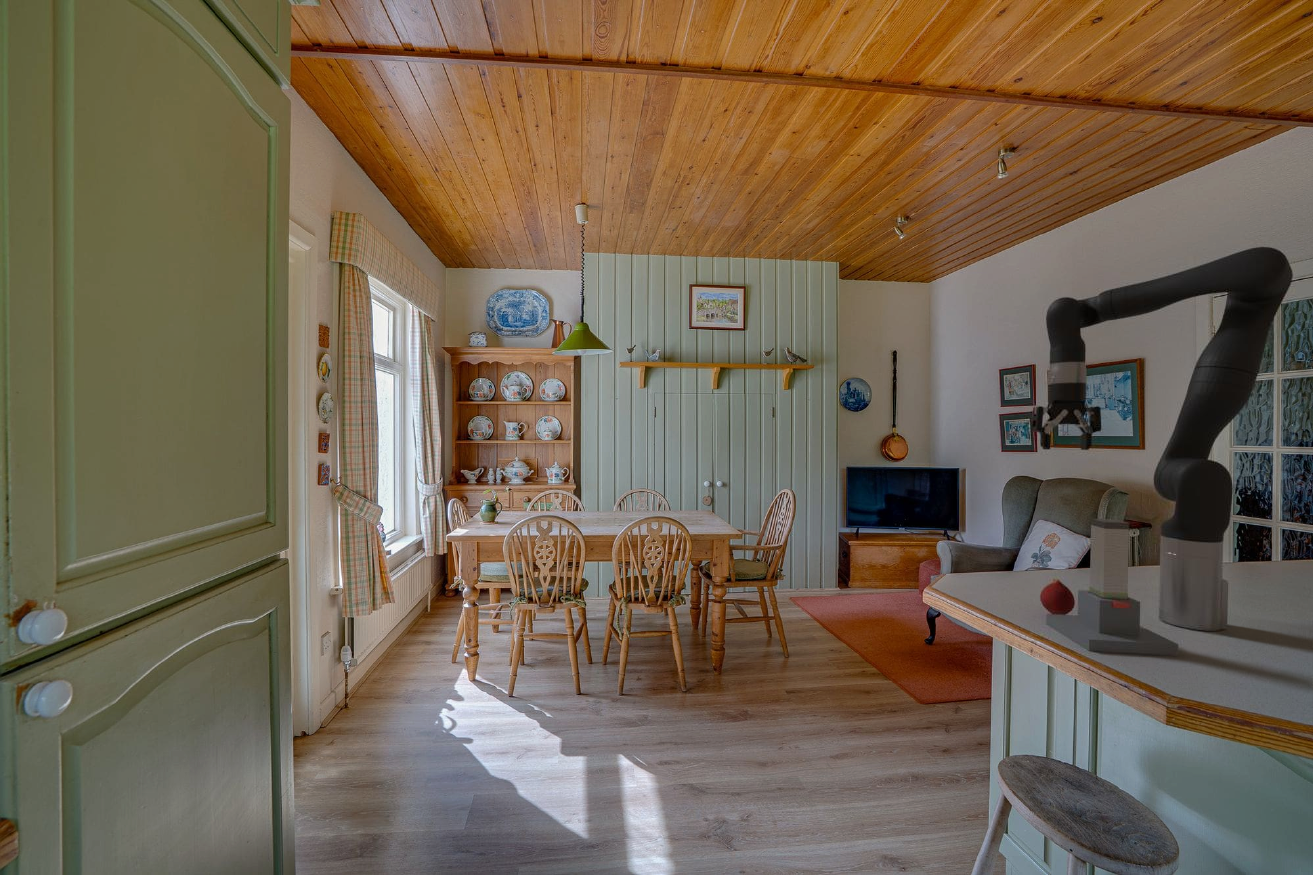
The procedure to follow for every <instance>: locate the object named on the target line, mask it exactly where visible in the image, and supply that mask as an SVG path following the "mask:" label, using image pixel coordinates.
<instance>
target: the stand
mask: <svg viewBox="0 0 1313 875" xmlns="http://www.w3.org/2000/svg"><path fill="white" fill-rule="evenodd" d="M1077 593H1078V594H1077V615H1073V614H1066V615H1057V614H1051V613H1046V615H1045V619H1046V620H1045V622H1046V623H1045V624H1046V625H1047V626H1049V627H1050V628H1052V629H1054V630H1055V631H1057V632H1059V633H1060V634H1062V635H1063V636H1064V637H1066V638H1068V639H1069V640H1071V641H1072V642H1075V643H1076V644H1078V645H1079V646H1080V647H1082V648H1084V649H1085V650H1086V651H1088V652H1103V653H1105V652H1106V653H1124V654H1135V655H1136V654H1138V655H1141V654H1142V655H1153V656H1155V655H1157V656H1173V657H1174V656H1175V657H1179V644H1178V643H1177V642H1174V641H1172V640H1170V639H1169V638H1166V637H1164V636H1162V635H1160V634H1158V633H1156V632H1153V631H1151V630H1150V629H1147V627H1143V626H1141V601H1139V600H1136V599H1134V598H1132V597H1130V596H1128V598H1127V600H1117V599H1102V598H1100V597H1097V596H1095V595H1093V594H1091V593H1090V591H1089V589H1088V590H1086V589H1085V590H1084V589H1078V590H1077Z"/></svg>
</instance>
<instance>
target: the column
mask: <svg viewBox="0 0 1313 875" xmlns="http://www.w3.org/2000/svg"><path fill="white" fill-rule="evenodd" d="M1090 519H1091V520H1090V521H1091V522H1090V531H1091V532H1090V565H1089V567H1090V569H1089V574H1090V575H1089V589H1088V591H1090V593H1091V594H1093V595H1095V596H1097V597H1100V598H1102V599H1117V600H1127V598H1128V597H1129V592H1128V590H1129V589H1128V587H1129V584H1128V583H1129V582H1128V581H1129V548H1130V547H1129V545H1130V544H1129V542H1130V522H1128V521H1127V522H1126V521H1123V520H1118V519H1112V518H1111V519H1110V518H1109V519H1108V518H1090Z"/></svg>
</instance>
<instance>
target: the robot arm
mask: <svg viewBox="0 0 1313 875" xmlns="http://www.w3.org/2000/svg"><path fill="white" fill-rule="evenodd" d="M1293 276H1294V275H1293V269H1292V267H1291V264H1290V262H1289V259H1288V258H1287V255H1285V253H1283V252H1282V251H1281V250H1279V249H1276V248H1275V247H1272V246H1271V247H1270V246H1258V247H1251V248H1247V249H1245V250H1241V251H1238V252H1236V253H1232V254H1230V255H1227V256H1224V257H1220V258H1217V259H1215V260H1212V261H1209V262H1207V263H1203V264H1200V265H1197V266H1195V267H1191V268H1189V269H1185V270H1182V271H1179V272H1176V273H1173V274H1169V275H1165V276H1162V277H1158V278H1154V279H1150V280H1147V281H1142V282H1138V283H1134V284H1128V285H1124V286H1120V287H1115V288H1110V289H1107V290H1105V291H1102V292H1100V293H1099V294H1098V295H1095V296H1091V297H1087V298H1084V299H1076V298H1074V297H1067V296H1066V297H1065V296H1063V297H1060V298H1057V299H1055V300H1054V301H1053V302H1051V304H1050V305H1048V306H1049V307H1048V308H1047V310H1046V317H1045V323H1046V324H1045V325H1046V330H1047V337H1048V340H1049V346H1050V347H1049V367H1048V373H1047V402H1048V403H1047V406H1040V405H1038V406H1033V408H1032V418H1031V431H1032V432H1037V433H1038V434H1040V438H1039V439H1040V443H1039V444H1040V447H1041V448H1042V449H1043V450H1046V451H1047V450H1051V444H1052V443H1051V441H1052V440H1051V438H1052V436H1051V431H1052V430H1053V429H1054V428H1056V427H1057V426H1058V425H1073V426H1075V427H1076V428H1077V429H1078V430H1079V431H1080V432H1081V434H1080V450H1082V451H1083V450H1084V451H1089V450H1090V448H1091V447H1092V445H1093V444H1092V443H1093V442H1092V437H1093V434H1094V433H1098V432H1101V431H1102V414H1101V413H1102V411H1101V407H1100V406H1099V405H1098V406H1097V405H1096V406H1090V407H1087V406H1086V401H1087V379H1088V378H1087V366H1086V355H1087V353H1086V351H1087V350H1086V347H1087V346H1086V342H1085V340H1084V339H1083V337H1082V334H1081V332H1082V331H1081V329H1085V328H1087V327H1088V328H1089V327H1092V326H1095V325H1099V324H1102V323H1105V322H1109V321H1115V320H1121V319H1122V320H1123V319H1126V318H1127V319H1128V318H1131V317H1137V316H1142V315H1147V314H1149V313H1153V312H1155V311H1158V310H1161V309H1163V308H1166V307H1168V306H1171V305H1173V304H1176V303H1178V302H1182V301H1185V300H1188V299H1191V298H1196V297H1201V296H1204V295H1206V296H1207V295H1213V294H1223V293H1227V294H1226V301H1225V307H1224V311H1223V315H1222V319H1221V321H1220V324H1219V326H1218V328H1217V330H1216V332H1215V334H1214V335H1213V337H1212V338H1211V339H1210V341H1209V342H1208V343H1207V345H1206V346H1205V347H1204V349H1203V350H1202V352H1201V354H1200V355H1199V357H1198V359H1197V360H1196V364H1195V366H1194V368H1193V372H1192V374H1191V378H1190V379H1189V383H1188V387H1187V390H1186V391H1187V392H1186V394H1185V398H1184V400H1183V403H1182V406H1181V409H1180V411H1179V414H1178V418H1177V420H1176V424H1175V427H1174V429H1173V431H1172V434H1171V436H1170V438H1169V441H1168V443H1167V445H1166V447H1165V448H1164V451H1163V453H1162V454H1161V457H1160V459H1159V461H1158V463H1157V465H1156V467H1155V470H1154V474H1153V485H1154V488H1155V490H1156V492H1157V494H1158V495H1160V496H1161V497H1162V498H1163V499H1165V500H1168V501H1172V502H1175V503H1174V504H1175V506H1174V513H1173V515H1172V516H1171V517H1170V518H1168V519H1166V520H1164V521H1162V522H1161V524H1160V544H1159V545H1160V547H1159V548H1160V552H1159V553H1160V555H1159V556H1160V557H1159V591H1158V592H1159V596H1158V597H1159V598H1158V619H1159V620H1160V621H1162V622H1164V623H1166V624H1170V625H1173V626H1176V627H1180V628H1185V629H1191V630H1197V631H1206V632H1207V631H1208V632H1209V631H1210V632H1212V631H1213V632H1214V631H1221V630H1228V612H1229V611H1228V605H1229V582H1228V581H1227V579H1224V578H1223V575H1224V574H1223V573H1224V570H1223V569H1224V566H1223V565H1224V538H1225V537H1224V535H1225V533H1226V531H1227V529H1228V528H1229V525H1230V522H1231V515H1232V514H1231V512H1232V504H1233V503H1232V502H1233V480H1232V476H1231V474H1230V472H1229V470H1228V468H1227V467H1226V466H1225V465H1223V464H1222V463H1220V462H1218V461H1217V460H1211V459H1209V457H1210V454H1211V452H1212V448H1213V446H1214V444H1215V442H1216V440H1217V438H1218V436H1220V434H1221V433H1222V431H1223V430H1224V429H1225V428H1226V427H1228V425H1229V424H1230V423H1231V421H1233V420H1234V419H1235V418H1236V416H1237V415H1238V414H1239V413H1240V412H1241V411H1242V409H1243V408H1244V407H1245V406H1246V404H1247V403H1248V401H1249V399H1250V397H1251V395H1252V393H1253V389H1254V386H1255V383H1256V381H1257V377H1258V375H1259V372H1260V368H1261V364H1262V360H1263V356H1264V352H1265V349H1266V344H1267V340H1268V334H1269V331H1270V328H1271V325H1272V323H1273V321H1274V319H1275V316H1276V314H1277V312H1278V310H1279V309H1280V306H1281V304H1282V303H1283V300H1284V298H1285V296H1286V294H1287V293H1288V291H1289V289H1290V287H1291V284H1292V282H1293ZM1046 414H1047V415H1048V416H1049V417H1048V418H1047V419H1046V420H1045V422H1044V421H1043V419H1044V415H1046ZM1085 415H1087V416H1088V420H1089V421H1087V419H1086V418H1085V417H1084V416H1085ZM1043 422H1044V423H1043Z"/></svg>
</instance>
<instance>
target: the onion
mask: <svg viewBox="0 0 1313 875" xmlns="http://www.w3.org/2000/svg"><path fill="white" fill-rule="evenodd" d="M1052 581H1053V582H1051V583H1049V584H1047V585H1046V586H1044V588H1043V589H1042V590H1041V592H1040V595H1039V599H1040V602H1041V604H1042V606H1043V608H1044V609H1045V610H1046V611H1048V612H1049V614H1057V615H1069V613H1070V612H1073V610H1074V607H1075V605H1076V604H1075V603H1076V601H1075V597H1074V594H1073V593H1072V591H1071V589H1069V587H1067V585H1065V584H1063V583H1062V581H1060V579H1058V578H1053V579H1052Z"/></svg>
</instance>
